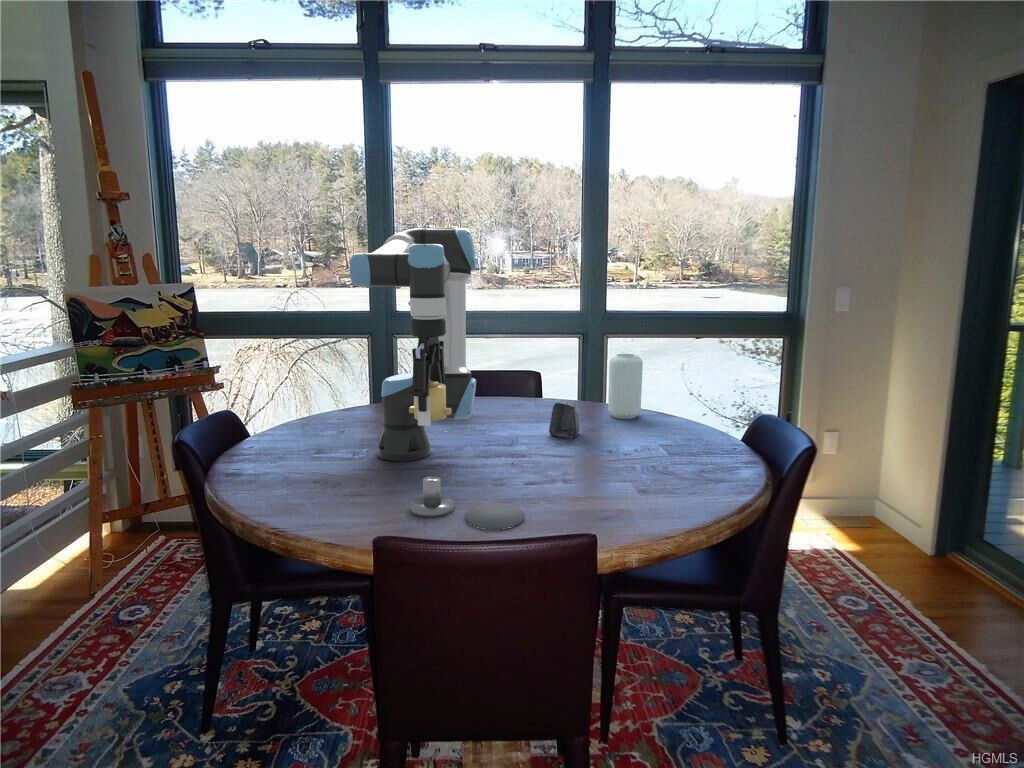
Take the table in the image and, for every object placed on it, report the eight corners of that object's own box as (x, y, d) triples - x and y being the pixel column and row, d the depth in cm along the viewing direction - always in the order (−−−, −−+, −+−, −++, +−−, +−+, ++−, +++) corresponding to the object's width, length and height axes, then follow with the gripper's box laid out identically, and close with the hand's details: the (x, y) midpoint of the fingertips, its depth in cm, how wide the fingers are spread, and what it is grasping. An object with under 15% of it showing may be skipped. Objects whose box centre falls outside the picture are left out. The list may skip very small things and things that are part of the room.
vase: (616, 411, 241) (618, 351, 237) (645, 415, 234) (648, 354, 230) (602, 417, 232) (604, 355, 227) (631, 422, 225) (634, 358, 221)
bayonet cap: (416, 412, 149) (415, 378, 147) (455, 414, 147) (454, 380, 145) (404, 419, 142) (403, 384, 140) (445, 422, 140) (444, 386, 138)
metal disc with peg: (403, 516, 145) (402, 485, 143) (419, 499, 154) (418, 470, 153) (446, 519, 143) (445, 488, 141) (459, 503, 152) (459, 473, 151)
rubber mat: (457, 526, 139) (457, 523, 139) (474, 504, 151) (474, 501, 151) (517, 532, 136) (517, 529, 136) (529, 509, 149) (529, 505, 149)
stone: (570, 446, 203) (542, 433, 207) (578, 443, 213) (551, 431, 216) (584, 410, 202) (555, 398, 205) (592, 409, 211) (564, 398, 214)
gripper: (427, 312, 150) (429, 409, 155) (393, 321, 131) (397, 431, 136) (458, 313, 149) (460, 411, 153) (428, 322, 130) (431, 434, 134)
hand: (430, 420), depth 144 cm, fingers closed on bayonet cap, 7 cm apart
